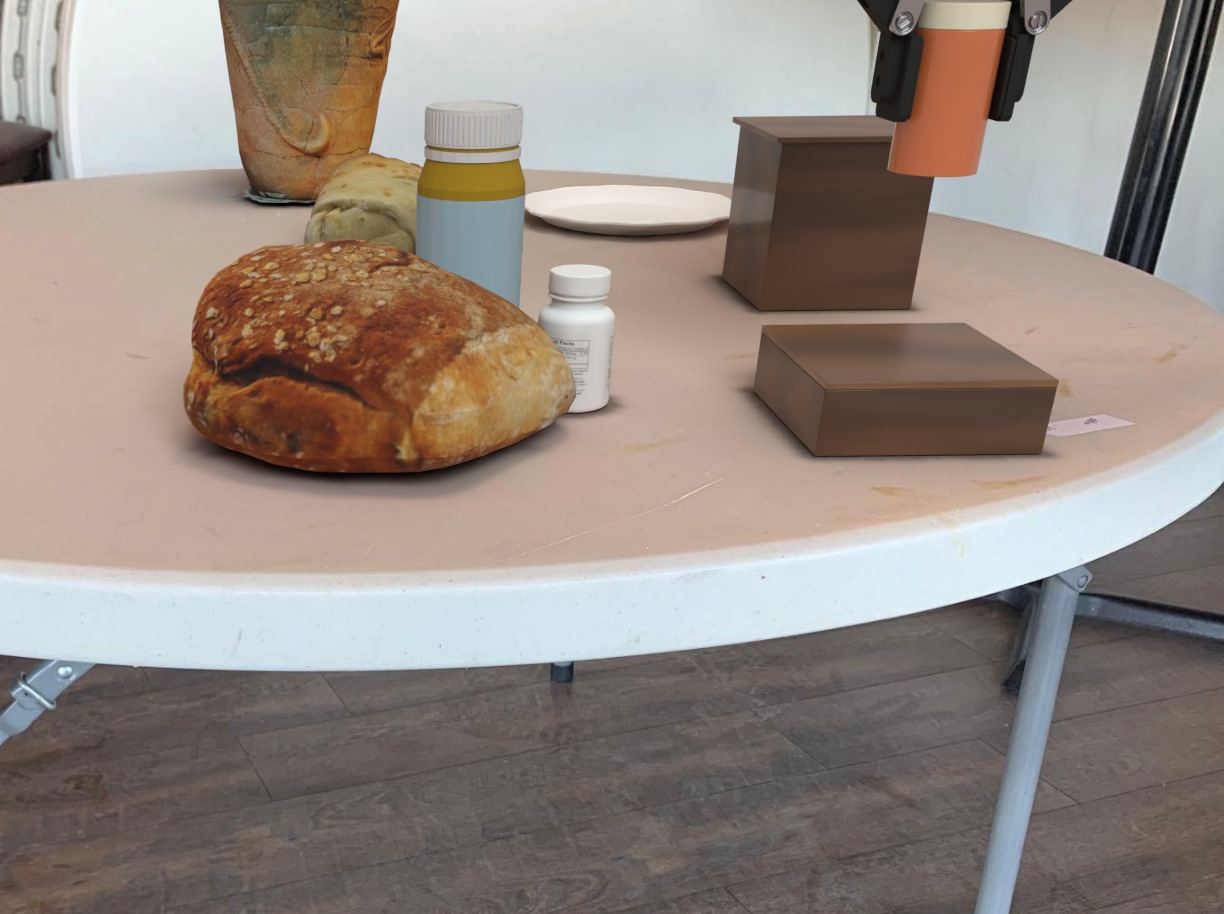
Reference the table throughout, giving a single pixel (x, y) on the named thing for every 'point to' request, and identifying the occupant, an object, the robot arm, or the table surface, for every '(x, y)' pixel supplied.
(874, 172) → the wooden cabinet block
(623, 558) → the table surface
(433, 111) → the bottle
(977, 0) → the spice jar
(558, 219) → the plate
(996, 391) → the wooden lidded box
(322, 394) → the bread
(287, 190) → the vase
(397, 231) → the pastry
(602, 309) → the pill bottle
